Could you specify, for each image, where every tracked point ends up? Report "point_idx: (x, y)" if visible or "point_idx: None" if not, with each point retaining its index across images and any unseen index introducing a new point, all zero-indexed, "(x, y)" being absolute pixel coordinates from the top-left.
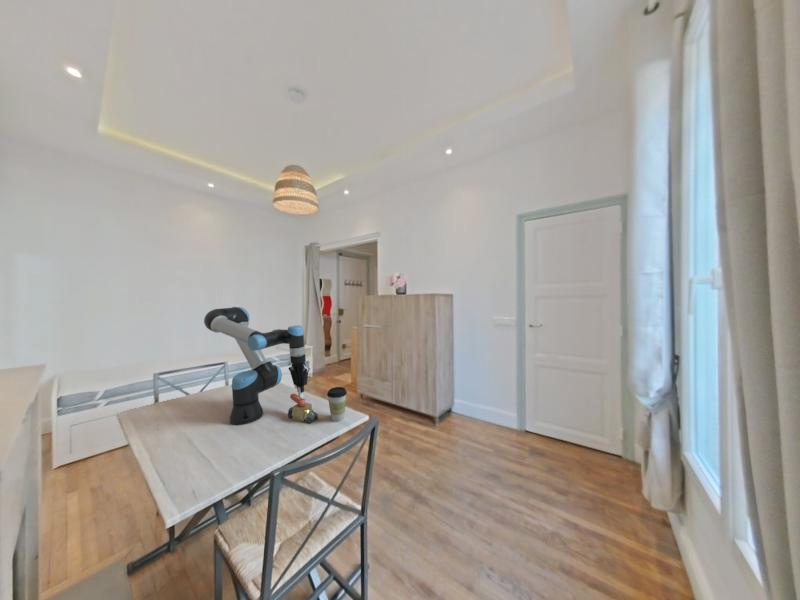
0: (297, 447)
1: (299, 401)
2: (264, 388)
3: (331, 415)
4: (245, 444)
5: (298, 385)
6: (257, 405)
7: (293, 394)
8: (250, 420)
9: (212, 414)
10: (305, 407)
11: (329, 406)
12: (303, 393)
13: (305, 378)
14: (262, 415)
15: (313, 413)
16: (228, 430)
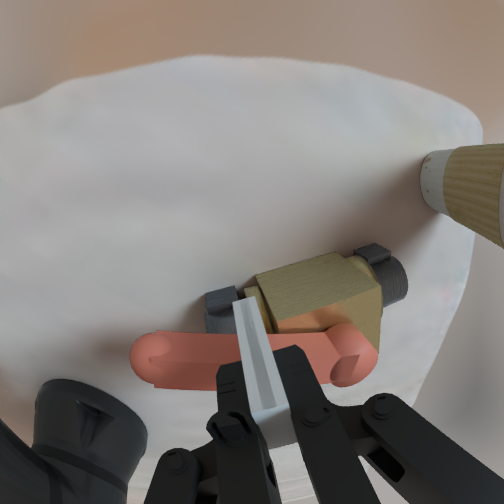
0: (421, 370)
1: (350, 383)
2: (49, 479)
3: (449, 216)
4: (282, 454)
5: (269, 456)
6: (108, 452)
7: (167, 375)
8: (146, 438)
9: (24, 433)
10: (379, 337)
11: (478, 231)
12: (262, 322)
13: (463, 485)
14: (109, 395)
15: (406, 293)
16: (155, 462)
